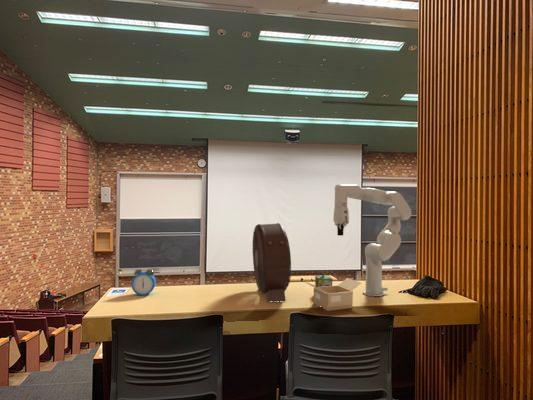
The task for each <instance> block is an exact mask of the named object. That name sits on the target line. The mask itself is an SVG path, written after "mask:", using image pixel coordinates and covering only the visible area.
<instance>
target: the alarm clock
mask: <svg viewBox="0 0 533 400" xmlns="http://www.w3.org/2000/svg"><path fill="white" fill-rule="evenodd" d="M130 285H131V289H132V291H133V293H135V294H136V296H150V294H151V293H152V291H153V290H154V289H155V288H156V286H157V280H156V277H155V271H154V270H153V269H150V268H148V269H146V270H144V269H143V270H142V269H135V270H134V272H133V278H132V281H131V284H130Z"/></svg>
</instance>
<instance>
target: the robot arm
mask: <svg viewBox="0 0 533 400" xmlns="http://www.w3.org/2000/svg"><path fill="white" fill-rule="evenodd" d="M348 199H353V200H360V201H365V202H370V203H374V204H378V205H379V204H380V205H385V206H390V207H389V208H388V209H387V218H388V221H387V224H386V225H385V227H383V229H382V230H381V231H380V232H379V234H378V235H377V237H376V242H377V243H373V242H371V243H368V244H367V245H366V246H365V248H364V255H365V256H364V257H365V290H363V291H362V293H363V295H365V296H369V297H374V296H380V297H383V296H382V295H385V293H384V291H388V287H386V286H385V287H383V285H382V284H383V283H382V282H383V281H382V280H383V265H382V264H383V263H382V262H385V261H388V260H389V259H390V258H391V257H392V256H393V255H394V254H395V252H396V251H397V250H398V248H399V247H400V246H401V244H402V243H401V242H402V237H401V236H400V235H399V233H400V231H401V229H402V227H401V226H402V225H401V221H407V220H409V219H410V218H411V217H412V210H411V208H410V206H409V204H408V203H407V202H406V199H405V198H404V197H403V195H402V194H401V193H400V192H398V191H387V190H382V189H377V188H373V187H372V188H371V187H361V186H360V185H358V184H336V185H335V187H334V208H333V223H334V225H335V226H336V229H337V236H344V229H345V227H347V226H348V224H349V223H350V222H349V221H350V215H349V213H350V212H349V208H348Z"/></svg>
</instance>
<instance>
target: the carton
mask: <svg viewBox="0 0 533 400" xmlns="http://www.w3.org/2000/svg"><path fill="white" fill-rule="evenodd" d="M318 288H320V289H322V290H323V291H325V292H323V291H321V290H319V289H317V288H315V287H313V304H314V303H315V304H317V305H319V306H321V307H323V308H322V309H323V310H325V311H327V312H329V311H330V312H331V311H336V310H337V311H338V310H347V309H353V307H354V306H353V303H354V302H353V299H354V298H353V297H354V294H353V290H350V289H348V288H345V287H342V286H340V285H339V284H338V285H332V286H325V287H318ZM326 292H327V293H326ZM315 304H314V305H315ZM317 305H316V306H317ZM319 306H318V307H319ZM321 307H320V308H321Z"/></svg>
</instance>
